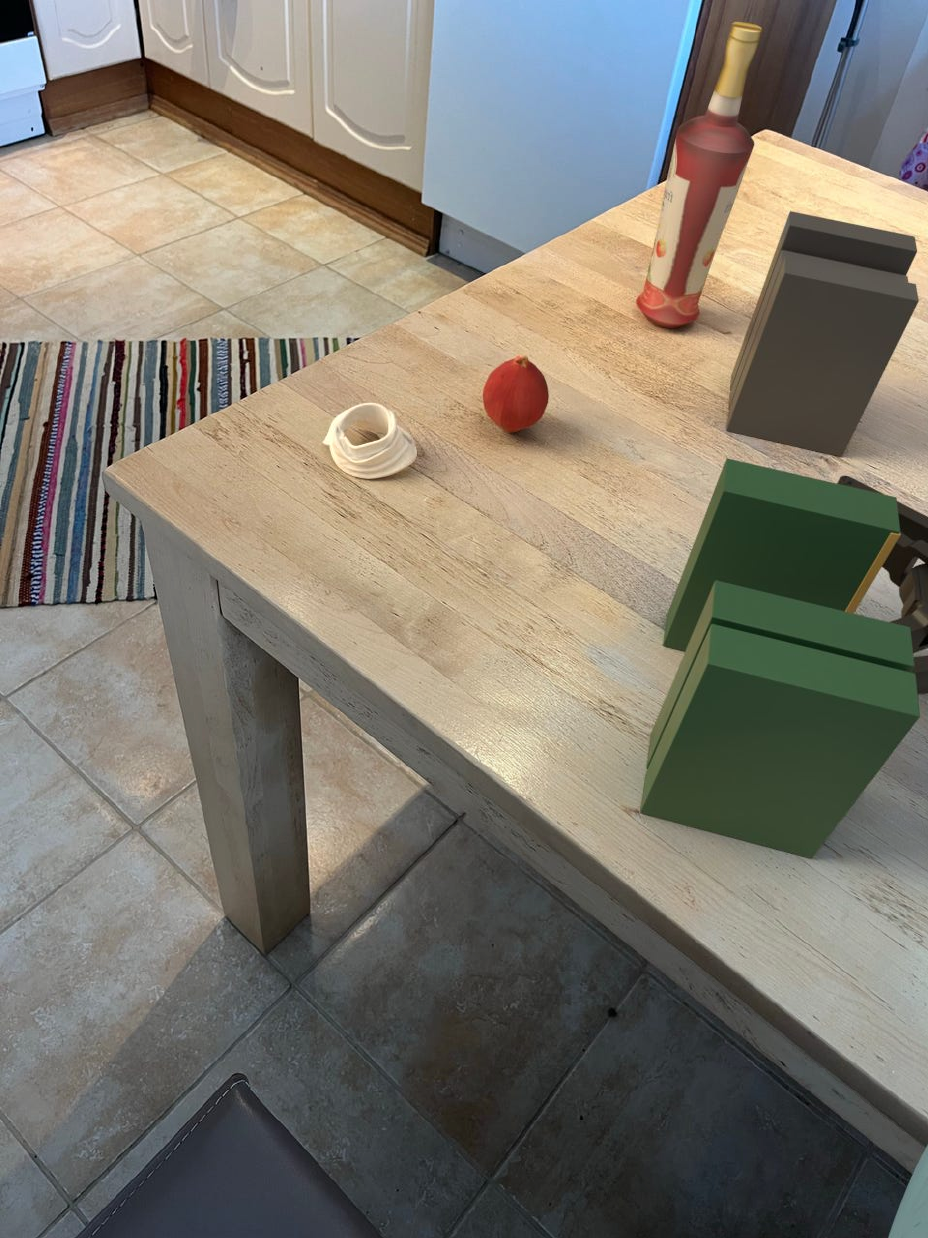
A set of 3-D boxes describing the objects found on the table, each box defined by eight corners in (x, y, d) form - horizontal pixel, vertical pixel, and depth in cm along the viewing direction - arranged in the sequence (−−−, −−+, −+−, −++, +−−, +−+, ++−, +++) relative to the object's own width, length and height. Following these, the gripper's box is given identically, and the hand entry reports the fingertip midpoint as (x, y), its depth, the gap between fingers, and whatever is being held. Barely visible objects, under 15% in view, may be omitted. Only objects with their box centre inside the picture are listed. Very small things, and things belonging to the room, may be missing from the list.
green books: (811, 859, 59) (920, 716, 48) (639, 813, 60) (707, 663, 49) (811, 775, 64) (910, 626, 53) (650, 733, 65) (715, 579, 54)
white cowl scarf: (426, 459, 84) (436, 412, 80) (393, 496, 79) (402, 448, 76) (346, 425, 85) (352, 378, 82) (309, 460, 80) (314, 411, 77)
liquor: (697, 341, 100) (790, 46, 80) (628, 327, 101) (704, 31, 80) (699, 307, 105) (787, 21, 85) (634, 294, 106) (706, 7, 85)
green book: (812, 683, 69) (902, 532, 58) (662, 646, 70) (723, 491, 59) (811, 648, 72) (898, 496, 61) (667, 612, 73) (726, 457, 62)
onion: (474, 410, 88) (485, 333, 82) (535, 411, 89) (549, 335, 83) (482, 449, 84) (493, 372, 78) (546, 450, 85) (561, 373, 79)
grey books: (842, 457, 89) (924, 289, 76) (725, 430, 90) (788, 260, 77) (839, 399, 96) (914, 235, 83) (731, 375, 97) (789, 210, 84)
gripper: (1048, 814, 57) (701, 724, 59) (993, 547, 74) (724, 484, 76) (1124, 743, 52) (738, 646, 54) (1046, 471, 68) (754, 405, 70)
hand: (729, 551), depth 65 cm, fingers open, 13 cm apart
